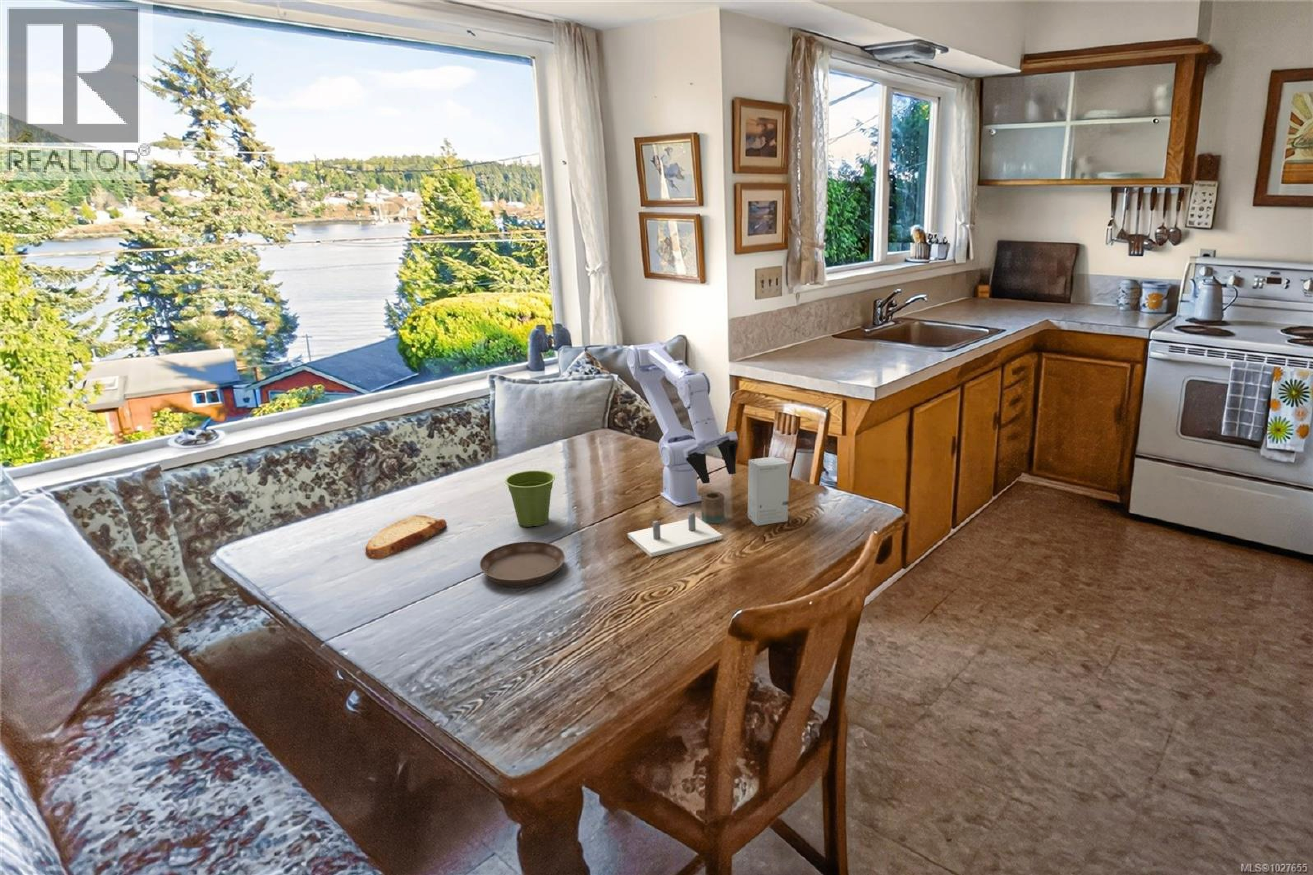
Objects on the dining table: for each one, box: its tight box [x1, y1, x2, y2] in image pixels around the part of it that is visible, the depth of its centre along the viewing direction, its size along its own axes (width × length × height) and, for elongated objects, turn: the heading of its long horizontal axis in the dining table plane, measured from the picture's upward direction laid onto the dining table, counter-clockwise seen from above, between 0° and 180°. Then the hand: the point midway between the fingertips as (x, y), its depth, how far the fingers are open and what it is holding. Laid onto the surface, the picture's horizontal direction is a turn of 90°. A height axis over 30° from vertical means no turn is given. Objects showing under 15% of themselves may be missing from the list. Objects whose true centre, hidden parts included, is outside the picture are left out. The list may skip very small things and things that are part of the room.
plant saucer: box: [479, 540, 566, 588], centre depth 164 cm, size 18×18×3 cm
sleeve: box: [700, 491, 725, 524], centre depth 186 cm, size 5×5×6 cm
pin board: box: [627, 511, 724, 558], centre depth 176 cm, size 12×18×5 cm, turn 116°
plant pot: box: [504, 469, 556, 528], centre depth 187 cm, size 12×12×11 cm
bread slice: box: [365, 514, 447, 560], centre depth 181 cm, size 18×18×4 cm
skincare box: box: [747, 456, 790, 527], centre depth 183 cm, size 8×6×15 cm
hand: (719, 478), depth 181 cm, fingers open, 7 cm apart
